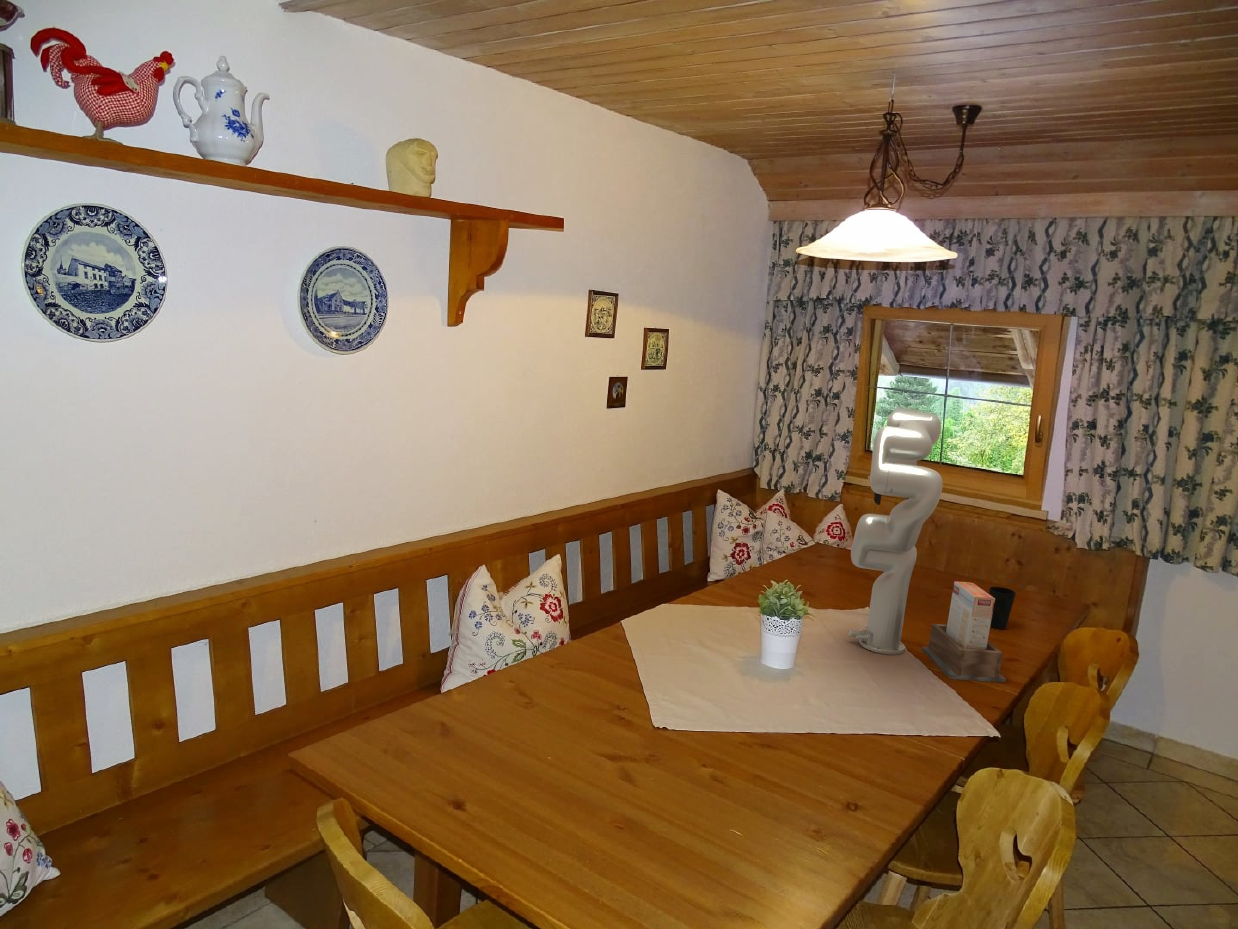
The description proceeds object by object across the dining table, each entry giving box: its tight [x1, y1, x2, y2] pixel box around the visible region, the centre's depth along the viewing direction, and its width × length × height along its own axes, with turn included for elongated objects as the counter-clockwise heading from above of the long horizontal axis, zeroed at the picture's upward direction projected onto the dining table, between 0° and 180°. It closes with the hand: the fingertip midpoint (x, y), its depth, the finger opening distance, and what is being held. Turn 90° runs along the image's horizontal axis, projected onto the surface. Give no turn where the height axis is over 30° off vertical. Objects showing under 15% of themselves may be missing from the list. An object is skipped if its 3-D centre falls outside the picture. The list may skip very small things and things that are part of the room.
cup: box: [988, 586, 1017, 631], centre depth 276 cm, size 8×8×12 cm
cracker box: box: [946, 580, 995, 650], centre depth 240 cm, size 14×6×21 cm, turn 0°
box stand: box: [920, 623, 1006, 683], centre depth 241 cm, size 15×20×8 cm
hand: (892, 505), depth 268 cm, fingers open, 9 cm apart
